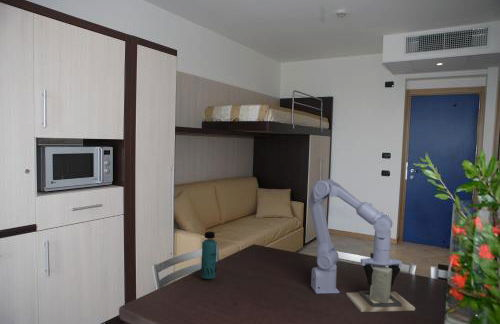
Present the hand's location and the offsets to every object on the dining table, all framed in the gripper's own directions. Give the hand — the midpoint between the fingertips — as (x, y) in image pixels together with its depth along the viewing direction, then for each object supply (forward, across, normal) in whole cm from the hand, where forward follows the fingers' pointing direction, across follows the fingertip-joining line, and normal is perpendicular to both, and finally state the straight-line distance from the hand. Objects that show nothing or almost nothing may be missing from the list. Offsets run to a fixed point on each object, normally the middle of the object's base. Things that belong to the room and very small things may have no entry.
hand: (380, 284), depth 124 cm
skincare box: (+6, 0, 0) cm, 6 cm away
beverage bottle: (+7, +65, -16) cm, 68 cm away
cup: (+7, -11, -32) cm, 34 cm away
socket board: (+7, 0, 0) cm, 7 cm away
